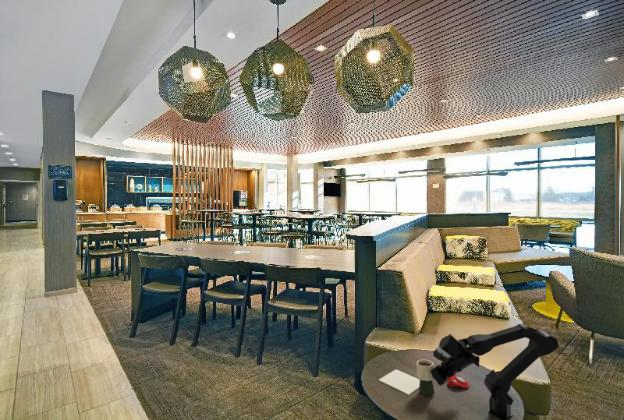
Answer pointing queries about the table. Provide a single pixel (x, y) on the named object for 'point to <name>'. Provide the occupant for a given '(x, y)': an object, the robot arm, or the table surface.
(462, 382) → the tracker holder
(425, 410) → the table surface
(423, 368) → the character mug
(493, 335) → the robot arm
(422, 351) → the table surface
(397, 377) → the oatmeal mat
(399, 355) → the table surface
